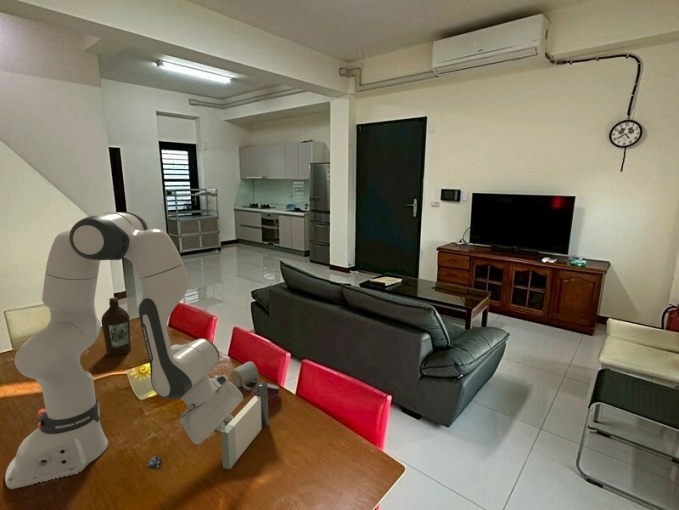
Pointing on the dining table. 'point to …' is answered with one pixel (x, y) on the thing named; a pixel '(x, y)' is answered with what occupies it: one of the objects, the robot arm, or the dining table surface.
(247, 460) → the dining table surface
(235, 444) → the cream flat block
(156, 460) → the blueberries
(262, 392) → the hinge post
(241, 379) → the ceramic mug
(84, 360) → the dining table surface
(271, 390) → the canned food
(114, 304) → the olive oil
